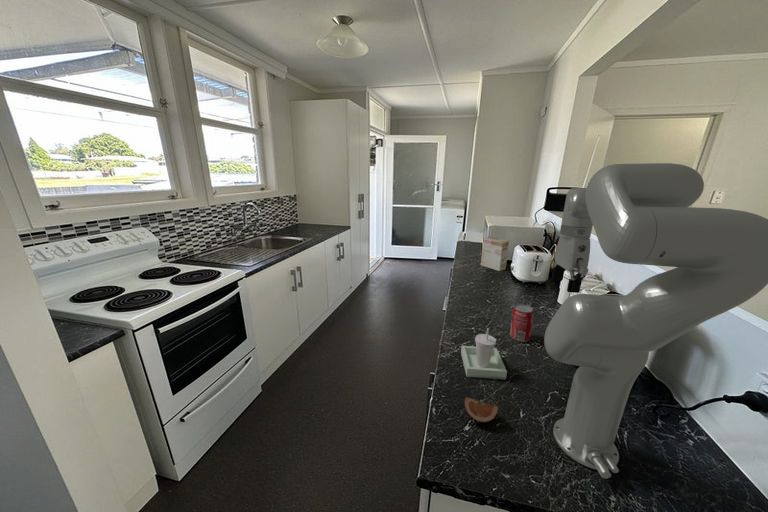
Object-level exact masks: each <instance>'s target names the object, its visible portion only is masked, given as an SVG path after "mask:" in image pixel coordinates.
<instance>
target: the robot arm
mask: <svg viewBox="0 0 768 512" xmlns="http://www.w3.org/2000/svg"><path fill="white" fill-rule="evenodd" d="M704 186H705V182H704V179H703V176H702V175H701V174H700V173H699V171H697V170H696V169H694V168H692V167H690V166H687V165H685V164H680V163H669V162H668V163H666V162H664V163H662V162H659V163H658V162H657V163H655V162H654V163H651V162H649V163H613V164H609V165H606V166H604V167H601V168H600V169H599V170H597V171H596V172H595V173H593V175H592V177H590V179H589V182H588V183H587V186H586V187H572V188H570V189H568V191H567V192H566V196H565V202H564V207H563V211H562V218H561V225H560V229H559V238H558V242H557V245H556V249H555V250H556V251H554V252H553V259H552V261H553V265H552V266H553V267H552V268H553V269H552V275H551V280H553V281H563V279H564V274H565V271H567V272H569V275H570V278H568V283H567V288H566V292H568V293H576V294H573V295H570V296H569V297H567V298H566V299H565V300H564V301H563V302H562V304H561V305H560V307H558V310H557V311H556V312H555V314H554V315H553V317H552V318H551V319H550V321H549V323H548V325H547V326H546V329H545V333H544V337H543V339H544V340H543V344H544V347H545V350H546V353H547V355H548V356H549V357H550V358H551V359H552V360H553V361H554V360H555V362H557V363H558V362H559V363H561V364H567V365H570V366H571V365H573V366H576V367H578V366H579V367H578V368H577V369H576V371H575V373H574V375H573V379H572V382H571V386H570V391H569V396H568V398H567V404H566V408H565V412H564V416H563V417H562V418H559V419H558V420H556V422H554V425H553V432H552V434H553V437H554V440H555V441H556V443H557V444H558V446H559V447H560V449H562V451H563V452H564V453H566V455H568V456H569V457H570V458H571V459H573V460H574V461H576V463H579V464H581V465H582V466H585V467H587V468H590V469H592V470H596V471H597V472H598V473H599V475H600V478H602V479H609V478H611V477H612V474H611V472H612V473H613V474H617V473H619V472H620V470H619V468H618V466H617V465H618V463H619V461H620V460H619V459H620V454H619V450H618V448H617V446H616V445H615V440H616V437H617V434H618V431H619V426H620V424H621V422H622V421H621V420H622V417H623V416H624V415H623V414H624V412H625V408H626V404H627V402H628V399H629V395H630V393H631V389H632V387H633V386H634V383H635V382H636V380H637V378H638V376H640V374H641V373H642V371H643V370H644V368H645V367H646V365H647V363H648V360H649V356H650V355H649V354H650V352H653V351H657V350H659V349H661V348H662V347H664V346H665V345H668V344H669V343H671V342H673V341H675V340H676V339H678V338H680V337H682V336H684V335H685V334H686V333H688V332H690V331H692V330H693V329H694V328H696V327H697V326H699V325H700V324H702V323H705V322H707V321H709V320H711V319H713V318H715V317H717V316H720V315H722V314H724V313H726V312H728V311H730V310H732V309H734V308H737V307H738V306H740V305H742V304H743V303H745V302H748V301H749V300H750V299H752V298H753V297H754V296H756V295H758V294H759V293H760V292H761V291H762V290H764V288H765V287H766V286H767V285H768V218H766V217H764V216H761V215H759V214H756V213H752V212H749V211H745V210H738V209H731V208H721V207H695V206H694V207H691V206H692V205H693V204H695V202H697V201H698V200H699V199H700V198H701V196H702V193H703V192H704ZM593 229H594V231H595V235H596V238H597V240H598V243H599V245H600V249H601V250H602V252H603V253H604V254H605V256H606V257H607V258H609V259H611V260H613V261H615V262H618V263H622V264H629V265H641V266H642V265H643V266H657V267H658V266H659V267H668V268H669V267H670V268H671V267H672V269H669V270H667V271H664V272H660V273H658V274H655V275H652V276H650V277H648V278H646V279H644V280H643V281H641V282H640V283H638V285H636V286H635V287H634V288H633V289H632V290H631V291H630V292H629V293H628V294H625V295H621V296H620V295H618V296H617V295H602V294H591V293H580V292H581V287H582V282H583V281H584V279H585V278H586V276H587V274H588V272H589V268H588V266H589V261H590V253H591V236H592V231H593ZM575 273H576V274H575ZM578 293H579V294H578ZM610 471H611V472H610Z"/></svg>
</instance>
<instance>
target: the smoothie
mask: <svg viewBox="0 0 768 512" xmlns="http://www.w3.org/2000/svg"><path fill="white" fill-rule="evenodd" d="M489 331H490V328H489V327H487V328H486V334H485V333H479V334H477V335H475V337H474V341H475V347H476V353H477V365H478V366H479V367H481V368H487V367H488V366H489V363H490V359H491V356H492V352H493V349H494V348H495V346H496V345H497V340H496V338H495V337H494V336H492V335H490V334H489V333H490V332H489Z"/></svg>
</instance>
